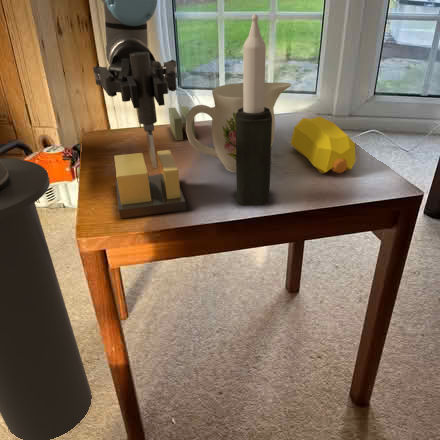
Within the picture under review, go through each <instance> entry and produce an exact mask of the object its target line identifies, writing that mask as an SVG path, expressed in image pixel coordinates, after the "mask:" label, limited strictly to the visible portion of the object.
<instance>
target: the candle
mask: <svg viewBox="0 0 440 440" xmlns="http://www.w3.org/2000/svg"><path fill="white" fill-rule="evenodd" d="M258 21H259V16H258V14H253V15H252V16H251V25H250V29H249V33H248V36H247V38H246V40H245V41H244V44H243V47H242V48H243V49H242V50H243V51H242V52H243V53H242V54H243V55H242V57H243V58H242V59H243V60H242V63H243V64H242V65H243V68H242V69H243V70H242V71H243V73H242V77H243V78H242V80H243V82H242V83H243V108H240V109H238V112H237V113H236V173H235V174H236V176H235V177H236V178H235V180H236V181H235V183H236V204H238V205H240V206H266V205H268V204H270V194H271V193H270V190H271V188H270V187H271V163H272V161H271V160H272V147H271V138H272V115H271V112H270V109H268V108H266V107H264V96H265V83H266V57H267V56H266V55H267V54H266V51H267V46H266V43H265V41H264V38H263V37H262V35H261V31H260V26H259V22H258Z"/></svg>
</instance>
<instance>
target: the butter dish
mask: <svg viewBox="0 0 440 440" xmlns="http://www.w3.org/2000/svg"><path fill="white" fill-rule="evenodd" d="M156 154H157V155H156V156H157V162H158V163H157V164H158V170H159V174H153V175H152V174H151V175H149V173H148V169H147V165H146V161H145V158H144V154H143V152H137V153H128V154H127V153H126V154H117V155H114V166H115V173H116V174H115V175H116V179H115V189H116V199H117V208H118V215H119V219H121V220H122V219H128V218H129V219H130V218H136V217H137V218H138V217H145V216H153V215H160V214H167V213H168V214H169V213H177V212H184V211H187V204H186V203H187V202H186V200H185V197H184V194H183V192H182V189H181V187H180V176H179V175H180V173H179V169H178V166H177V163H176V161H175V159H174V156H173V154H172V152H171V150H170V149H166V150H157V151H156Z"/></svg>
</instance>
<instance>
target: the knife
mask: <svg viewBox="0 0 440 440" xmlns="http://www.w3.org/2000/svg"><path fill="white" fill-rule="evenodd" d="M130 60H131V68H132V75H133V78H134V81H135V83H136V85H137V91H138V98H139V105H140V108H136V109H137V118H138V123H139V124H140V125H142V126H143V130H144V132H145V133H146V141H147V148H148V157H149V159H150V163H151V165H152V169H153V170H156V169H158V163H157V162H158V161H157V155H156V154H157V153H156V147H155V138H154V133H153V132H154V131H155V124H156V123H157V122H158V119H157V110H156V99H155V97H154V91H153V83H152V74H151V65H150V57H149V53H148V52H134V53H130Z"/></svg>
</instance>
